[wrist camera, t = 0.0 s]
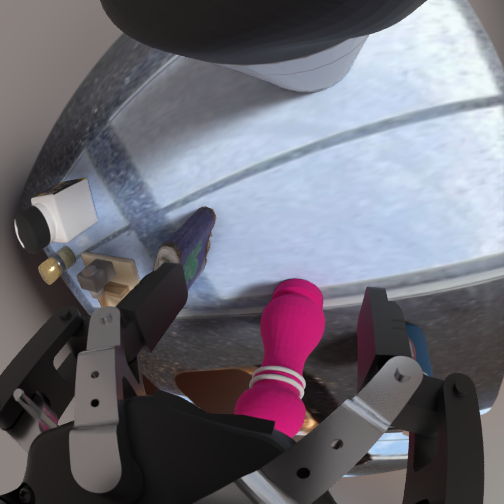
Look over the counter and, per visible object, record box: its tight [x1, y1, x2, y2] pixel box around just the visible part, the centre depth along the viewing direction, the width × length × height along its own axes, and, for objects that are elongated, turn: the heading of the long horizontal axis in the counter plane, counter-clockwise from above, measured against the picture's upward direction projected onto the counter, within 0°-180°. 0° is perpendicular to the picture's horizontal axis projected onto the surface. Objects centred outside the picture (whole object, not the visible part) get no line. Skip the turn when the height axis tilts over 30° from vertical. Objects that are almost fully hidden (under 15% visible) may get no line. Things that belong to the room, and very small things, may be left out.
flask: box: [153, 206, 216, 290], centre depth 28 cm, size 9×3×11 cm, turn 164°
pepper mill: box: [235, 279, 325, 438], centre depth 25 cm, size 7×7×20 cm
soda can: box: [405, 322, 433, 377], centre depth 27 cm, size 7×7×12 cm
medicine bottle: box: [15, 178, 98, 254], centre depth 30 cm, size 7×7×12 cm
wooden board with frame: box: [76, 252, 140, 307], centre depth 41 cm, size 17×12×6 cm
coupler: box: [38, 246, 76, 285], centre depth 40 cm, size 4×4×7 cm
